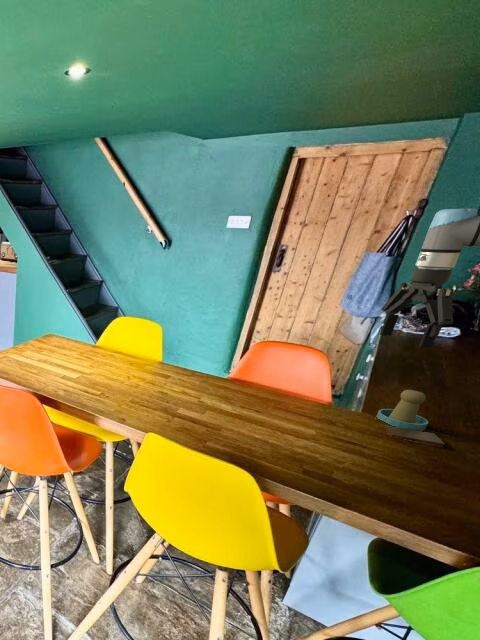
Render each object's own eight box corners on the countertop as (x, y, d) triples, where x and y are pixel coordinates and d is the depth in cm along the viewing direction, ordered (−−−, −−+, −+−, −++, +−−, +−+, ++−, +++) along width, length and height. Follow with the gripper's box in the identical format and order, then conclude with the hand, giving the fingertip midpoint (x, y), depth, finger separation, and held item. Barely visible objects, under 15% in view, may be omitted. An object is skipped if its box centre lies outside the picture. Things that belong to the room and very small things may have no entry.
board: (432, 437, 120) (434, 433, 119) (442, 448, 114) (445, 443, 113) (382, 429, 125) (384, 425, 124) (390, 439, 119) (392, 434, 118)
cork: (385, 422, 127) (400, 390, 123) (387, 417, 131) (402, 386, 127) (412, 429, 123) (429, 397, 119) (413, 423, 127) (430, 392, 123)
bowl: (416, 421, 129) (419, 413, 128) (430, 436, 120) (435, 427, 119) (370, 414, 134) (373, 406, 133) (381, 428, 125) (385, 419, 124)
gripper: (382, 264, 125) (358, 330, 133) (462, 272, 102) (428, 352, 110) (409, 264, 124) (383, 331, 132) (496, 273, 101) (459, 353, 109)
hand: (403, 340), depth 121 cm, fingers open, 13 cm apart
